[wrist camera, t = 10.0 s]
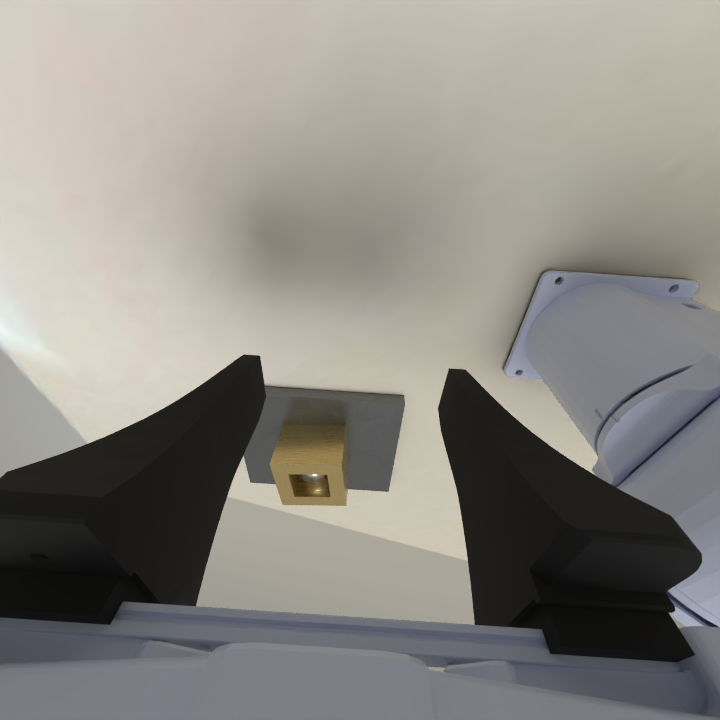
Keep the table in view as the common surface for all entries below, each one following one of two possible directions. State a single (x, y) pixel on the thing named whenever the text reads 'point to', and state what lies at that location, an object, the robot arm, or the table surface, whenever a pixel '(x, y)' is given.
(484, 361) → the table surface
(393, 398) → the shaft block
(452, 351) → the table surface
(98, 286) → the table surface
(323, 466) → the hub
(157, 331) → the table surface
